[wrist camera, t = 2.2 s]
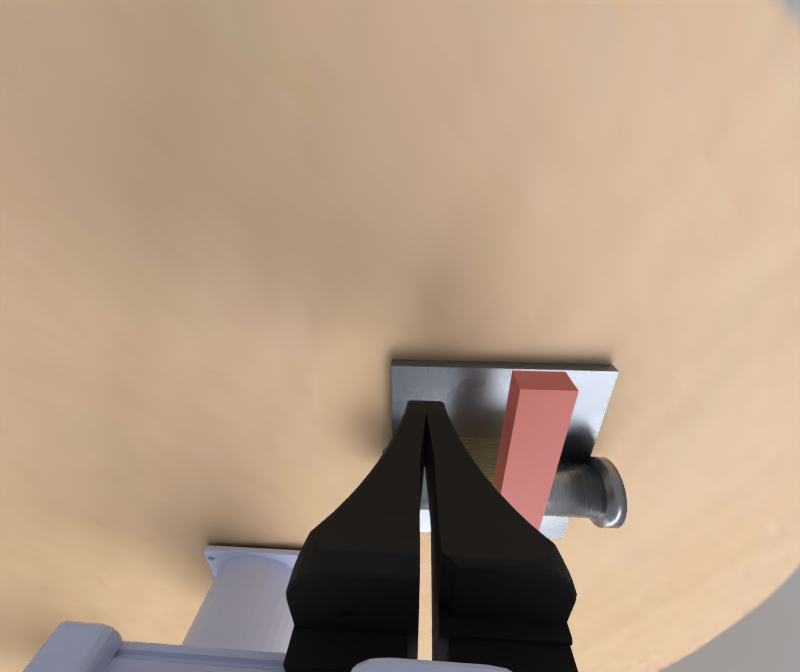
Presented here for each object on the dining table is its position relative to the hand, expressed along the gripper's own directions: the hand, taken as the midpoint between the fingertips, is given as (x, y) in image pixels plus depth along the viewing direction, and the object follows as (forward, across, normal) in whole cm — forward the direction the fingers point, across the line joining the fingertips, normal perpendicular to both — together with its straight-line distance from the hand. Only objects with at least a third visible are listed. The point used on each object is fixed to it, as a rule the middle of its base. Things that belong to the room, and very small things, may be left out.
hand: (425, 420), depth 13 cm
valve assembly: (+5, -4, +7) cm, 9 cm away
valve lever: (0, -4, +3) cm, 5 cm away
